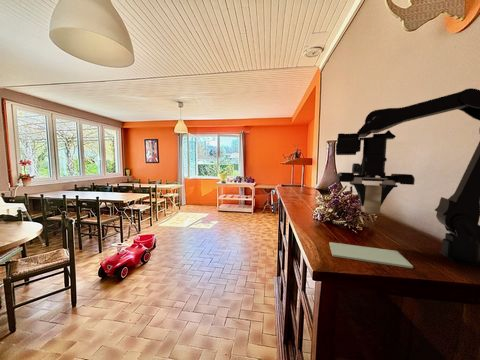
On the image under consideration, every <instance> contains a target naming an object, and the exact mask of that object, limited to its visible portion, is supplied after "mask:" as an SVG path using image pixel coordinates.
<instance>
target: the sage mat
mask: <svg viewBox="0 0 480 360" xmlns="http://www.w3.org/2000/svg"><path fill="white" fill-rule="evenodd" d="M328 244H329V248H330V252H331V255H332V257H335V258H342V259H347V260H355V261H359V262H360V261H361V262H367V263H374V264H379V265H380V264H381V265H387V266H393V267H401V268H406V269H414V266H413V265H412V264H411V263H410V262H409V261H408V260H407V259H406V258H405V256H403V255H402V254H401V253H400V252H399V251H398V250H393V249H392V250H391V249H384V248H377V247H370V246H362V245H355V244H354V245H353V244H345V243H339V242H331V241H329V242H328Z"/></svg>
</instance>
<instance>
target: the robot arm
mask: <svg viewBox="0 0 480 360" xmlns="http://www.w3.org/2000/svg"><path fill="white" fill-rule="evenodd" d="M455 110H459V111H461V112H463V113H465V114H466V115H467V116H469V117H471V118H472V119H474V120H477V121H480V89H477V88H471V87H470V88H465V89H463V90H461V91H459V92H458V91H457V92H455V93H450V94H447V95H444V96H439V97H436V98H432V99H429V100H424V101H421V102H417V103H415V104H410V105H407V106H402V107H388V108H387V107H386V108H380V109H375V110H374V109H373V110H372V111H369V113H368V114H367V116H366V117H365V120H364V124H363V125H362V126H361V128H359V129H358V131H357V132H355V133H338V134H337V139H336V144H335V155H336V156H356V155H357V153H359V152H361V149H362V159H361V163H355V162H354V163H352V168H351V172H345V171H344V172H338V173H337V176H336V181H337V182H340V183H342V182H343V183H349V185H352V186H353V187H354V189H355V191H356V193H357V195H358V200H359V203H360V207H361V206H363V205H364V185H365V183H363V182H381V183H379V185H378V186H381V187H382V192H381V206H380V208H381V207H382V205H383V203H384V202H385V201H386V198H387V197H388V195H389V194H390V193H391V191H392V190H393V189H394V188H398V185H397V184H400V185H409V186H410V185H411V186H414V185H415V181H416V180H415V176H414V175H413V174H410V173H409V174H408V173H391V174H390V175H387V174H386V172H385V171H386V170H385V168H386V162H387V160H388V158H387V157H386V156H387V155H386V154H387V153H386V152H387V142H388V140H394V139H395V138H396V137H397V136H396V135H395V134H393V133H392V132H391V130H390V129H391V128H393V127H396V126H397V125H400V124H403V123H407V122H410V121H415V120H420V119H423V118H427V117H431V116H435V115H441V114H444V113H448V112H451V111H455ZM388 129H389V130H388ZM386 130H387V131H386ZM478 130H479V133H480V128H479V129H478ZM383 131H385V132H384V133H383ZM381 132H382V133H381ZM371 134H372V136H370V135H371ZM367 136H368V137H367ZM362 141H363V147H362ZM361 147H362V148H361ZM434 211H435V212H436V216H435V217H436V219H437V220H438V222H439V223H440V224H442V226H444V228H445V230H446V231H447V232H445V235H444V236H445V238H442V244H441V251H439V254H441V256H444V257H445V258H447V259H448V260H450V261H451V262H453V263H456V264H459V265H465V266H466V265H467V266H475V267H480V224H479V222H480V141H479V142H478V144H477V146H476V149H475V150H474V152H473V155H472V157H471V159H470V160H469V163H468V164H467V167H466V169H465V171H464V172H463V175H462V176H461V179H460V181H459V183H458V185H457V187H456V190H455V191H454V193H453V194H452V195H451V196H450V197H449V198H446V197H440V199H439V204H438V205H437V207H436V208H435V209H434ZM448 232H449V233H448Z"/></svg>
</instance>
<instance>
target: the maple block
mask: <svg viewBox="0 0 480 360" xmlns="http://www.w3.org/2000/svg"><path fill="white" fill-rule="evenodd" d="M381 192H382V187H381V186H379V185H372V184H364V205H363V206H361V205H360V211H362V212H363V213H366V214H377V215H380V214H381V207H382V205H381ZM380 206H381V207H380Z"/></svg>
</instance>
